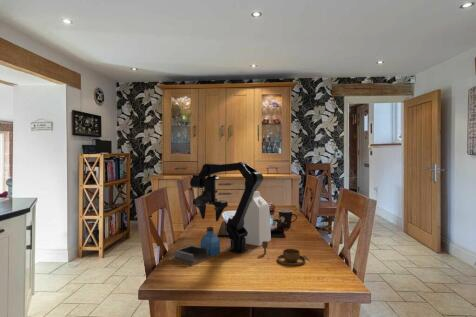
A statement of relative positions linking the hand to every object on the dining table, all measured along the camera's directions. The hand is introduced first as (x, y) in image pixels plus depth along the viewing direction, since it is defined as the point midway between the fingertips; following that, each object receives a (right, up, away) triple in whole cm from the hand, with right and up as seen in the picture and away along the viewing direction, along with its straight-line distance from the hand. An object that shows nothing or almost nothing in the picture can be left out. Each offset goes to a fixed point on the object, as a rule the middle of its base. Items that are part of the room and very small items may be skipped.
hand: (210, 220), depth 153 cm
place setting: (+35, -14, -19) cm, 42 cm away
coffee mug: (+44, -12, +38) cm, 60 cm away
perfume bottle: (+1, -13, -12) cm, 18 cm away
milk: (+23, -13, +8) cm, 28 cm away
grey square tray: (-6, -13, -19) cm, 24 cm away
